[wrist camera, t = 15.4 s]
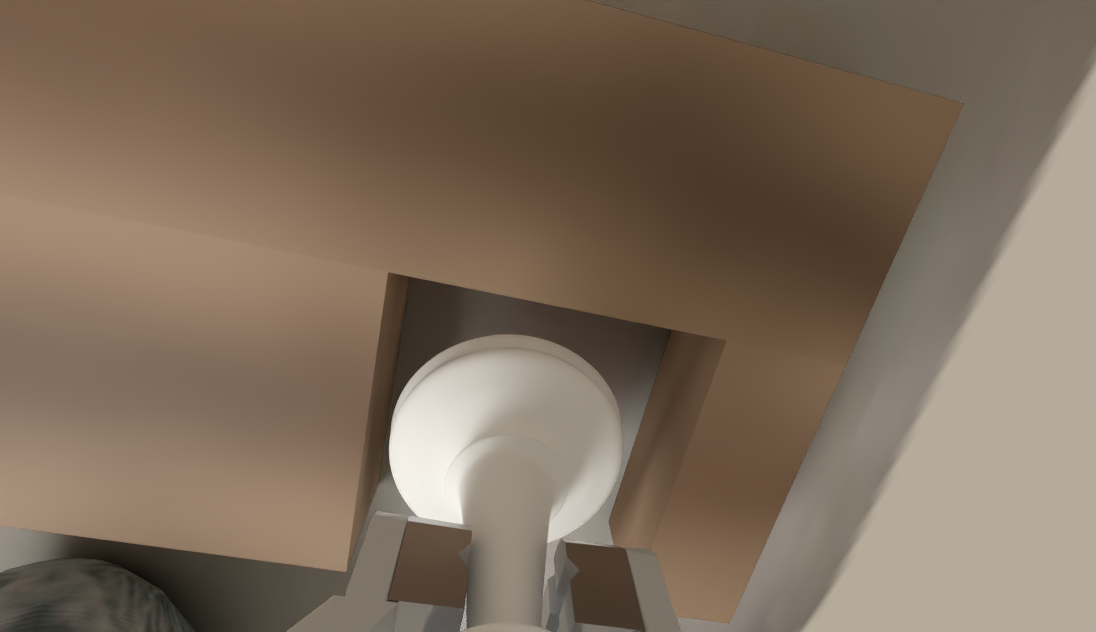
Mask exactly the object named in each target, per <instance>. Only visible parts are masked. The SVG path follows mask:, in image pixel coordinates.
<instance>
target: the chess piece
mask: <svg viewBox="0 0 1096 632" xmlns="http://www.w3.org/2000/svg"><path fill="white" fill-rule="evenodd" d="M622 459H623V437H622V422H621V416H620V411H619V408H618V405H617V402H616V400H615V397H614V395H613V393H612V391H611V389H610V388H609V386H608V384H607V383H606V381H605V380H604V379H603V377H602V376H601V375H600V374H599V373H598V372H597V371H596V369H595V368H594V367H592V366H591V365H590V364H589V363H588V362H587V361H586V360H584V359H583V358H582V357H580V356H579V355H577V354H576V353H574V352H572V351H571V350H569V349H567V348H565V347H563V346H561V345H559V344H556V343H554V342H551V341H548V340H545V339H541V338H537V337H532V336H526V335H516V334H499V335H489V336H483V337H478V338H474V339H470V340H467V341H464V342H461V343H459V344H456V345H454V346H452V347H450V348H448V349H446V350H444V351H442V352H441V353H439V354H437V355H436V356H434V357H433V358H432V359H430V360H429V361H428V362H427V363H425V364H424V365H423V366H422V367H421V368H420V369H419V370H418V371H417V372H416V373H415V374H414V375H413V376H412V378H411V379H410V380H409V382H408V383H407V384H406V386H405V388H404V389H403V391H402V393H401V395H400V397H399V399H398V401H397V404H396V406H395V409H394V413H393V417H392V423H391V434H390V441H389V460H390V466H391V471H392V475H393V478H394V481H395V483H396V486H397V488H398V490H399V492H400V494H401V496H402V497H403V499H404V500H405V502H406V503H407V505H408V506H409V507H410V508H411V510H412V511H413V512H414V513H415V514H416V515H417V516H418V517H421V518H427V519H433V520H439V521H445V522H451V523H457V524H463V525H469V526H472V540H471V547H470V552H469V556H468V561H467V567H468V568H469V571H468V580H467V589H466V594H467V610H466V612H467V629H465V630H462V631H460V632H551V631H549V630H546V629H544V628H541V620H542V597H543V584H544V573H545V561H546V551H547V543H549V542H552V541H554V540H557V539H559V538H561V537H563V536H565V535H567V534H569V533H571V532H572V531H574V530H576V529H577V528H579V527H580V526H581V525H583V524H584V523H585V522H587V521H588V520H589V519H590V518H591V517H592V516H593V515H594V514H595V513H596V512H597V511H598V510H599V509H600V508H601V507H602V505H603V504H604V503H605V501H606V500H607V498H608V497H609V495H610V494H611V492H612V490H613V488H614V486H615V484H616V482H617V479H618V476H619V473H620V469H621V465H622Z"/></svg>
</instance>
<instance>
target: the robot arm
mask: <svg viewBox="0 0 1096 632" xmlns="http://www.w3.org/2000/svg"><path fill="white" fill-rule="evenodd" d="M408 518H409V519H408ZM471 540H472V526H469V525H463V524H457V523H451V522H445V521H439V520H433V519H427V518H421V517H415V516H409V517H408V516H405V515H399V514H393V513H387V512H381V511H376V512H375V513H374V515H373V516H372V518H371V521H370V524H369V527H368V529H367V532H366V535H365V538H364V541H363V544H362V547H361V550H360V553H359V555H358V558H357V561H356V564H355V567H354V570H353V573H352V576H351V578H350V581H349V584H348V587H347V590H346V593H345V596H338V595H333V596H332V597H330V598H329V599H328V600H326V601H325V602H324V603H323V604H321V605H320V606H319V607H317V608H316V609H315V610H313V611H312V612H311V613H310V614H308V615H307V616H306V617H304V618H303V619H302V620H300V621H299V622H298V623H296V624H295V625H294V626H293V627H291V628H290V629H289V630H287V631H286V632H459V631H460V626H461V622H462V617H463V613H464V607H465V598H466V589H467V580H468V571H469V568H468V567H467V561H468V556H469V552H470V547H471ZM554 565H555V574H554V575H553V576H552V577H551V578H549V579H548V580H547V584H546V588H545V592H544V596H543V602H542V620H541V628H544V629H546V630H549V631H551V632H681V629H680V626H679V623H678V620H677V617H676V614H675V611H674V608H673V605H672V602H671V599H670V596H669V592H668V589H667V586H666V583H665V580H664V577H663V574H662V571H661V568H660V565H659V562H658V559H657V555H656V554H655V553H654V552H653V550H651V549H642V548H634V547H626V546H622V547H619V546H613V545H606V544H598V543H591V542H583V541H576V540H568V539H561V540H560V542H559V544H558V546H557V550H556V553H555V556H554Z"/></svg>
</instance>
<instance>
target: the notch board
mask: <svg viewBox="0 0 1096 632" xmlns="http://www.w3.org/2000/svg"><path fill="white" fill-rule="evenodd" d="M963 104H964V103H960V102H956V101H953V100H949V99H945V98H942V97H938V96H935V95H931V94H927V93H924V92H920V91H916V90H913V89H909V88H905V87H902V86H898V85H894V84H891V83H887V82H884V81H880V80H876V79H873V78H869V77H865V76H862V75H858V74H854V73H851V72H847V71H844V70H840V69H836V68H833V67H829V66H825V65H822V64H818V63H814V62H811V61H807V60H803V59H800V58H796V57H793V56H789V55H785V54H782V53H778V52H774V51H771V50H767V49H763V48H760V47H756V46H752V45H749V44H745V43H742V42H738V41H734V40H731V39H727V38H723V37H720V36H716V35H712V34H709V33H705V32H702V31H698V30H694V29H691V28H687V27H683V26H680V25H676V24H672V23H669V22H665V21H661V20H658V19H654V18H651V17H647V16H643V15H640V14H636V13H632V12H629V11H625V10H621V9H618V8H614V7H610V6H607V5H603V4H600V3H596V2H592V1H589V0H0V526H6V527H13V528H21V529H28V530H36V531H43V532H51V533H58V534H66V535H73V536H81V537H88V538H95V539H103V540H110V541H118V542H125V543H133V544H140V545H148V546H155V547H163V548H170V549H178V550H185V551H193V552H200V553H207V554H215V555H222V556H230V557H237V558H245V559H252V560H260V561H267V562H275V563H282V564H290V565H297V566H305V567H312V568H319V569H327V570H334V571H342V572H346V571H347V568H348V565H349V562H350V560H351V557H352V554H353V552H354V549H355V546H356V543H357V541H358V538H359V535H360V532H361V530H362V527H363V524H364V521H365V519H366V516H367V513H368V510H369V508H370V505H371V502H372V500H373V497H374V494H375V491H376V489H377V486H378V479H379V473H380V466H381V460H382V453H383V447H384V440H385V434H386V427H387V421H388V414H389V408H390V401H391V395H392V388H393V382H394V375H395V369H396V362H397V356H398V349H399V343H400V336H401V330H402V323H403V317H404V310H405V304H406V297H407V291H408V284H409V278H410V277H414V278H419V279H424V280H429V281H434V282H439V283H444V284H449V285H454V286H459V287H464V288H469V289H474V290H479V291H484V292H489V293H494V294H498V295H503V296H508V297H513V298H518V299H523V300H528V301H533V302H538V303H543V304H548V305H553V306H558V307H563V308H568V309H573V310H578V311H583V312H588V313H593V314H598V315H602V316H607V317H612V318H617V319H622V320H627V321H632V322H637V323H642V324H647V325H652V326H657V327H662V328H667V329H672V330H671V333H670V336H669V339H668V342H667V345H666V348H665V351H664V354H663V357H662V360H661V364H660V367H659V370H658V373H657V376H656V379H655V382H654V385H653V388H652V391H651V394H650V397H649V400H648V403H647V406H646V409H645V412H644V415H643V418H642V421H641V424H640V428H639V431H638V434H637V437H636V440H635V443H634V446H633V449H632V452H631V455H630V458H629V461H628V464H627V467H626V470H625V473H624V476H623V479H622V482H621V485H620V489H619V492H618V495H617V498H616V501H615V504H614V507H613V510H612V513H611V516H610V519H609V525H610V530H611V534H612V539H613V543H614V546H619V547H622V546H626V547H634V548H642V549H651V550H653V552H654V553H655V554H656V555H657V559H658V562H659V565H660V568H661V571H662V574H663V577H664V580H665V583H666V586H667V589H668V592H669V596H670V599H671V602H672V605H673V608H674V611H675V614H676V616H678V617H685V618H693V619H700V620H708V621H715V622H723V623H730V621H731V619H732V617H733V615H734V612H735V610H736V608H737V606H738V604H739V601H740V599H741V597H742V595H743V592H744V590H745V588H746V586H747V584H748V581H749V579H750V577H751V575H752V572H753V570H754V568H755V566H756V564H757V561H758V559H759V557H760V555H761V553H762V550H763V548H764V546H765V544H766V541H767V539H768V537H769V535H770V533H771V530H772V528H773V526H774V524H775V521H776V519H777V517H778V515H779V513H780V510H781V508H782V506H783V504H784V501H785V499H786V497H787V495H788V493H789V490H790V488H791V486H792V484H793V481H794V479H795V477H796V475H797V473H798V470H799V468H800V466H801V464H802V462H803V459H804V457H805V455H806V453H807V450H808V448H809V446H810V444H811V442H812V439H813V437H814V435H815V433H816V430H817V428H818V426H819V424H820V422H821V419H822V417H823V415H824V413H825V410H826V408H827V406H828V404H829V402H830V399H831V397H832V395H833V393H834V390H835V388H836V386H837V384H838V382H839V379H840V377H841V375H842V373H843V371H844V368H845V366H846V364H847V362H848V359H849V357H850V355H851V353H852V351H853V348H854V346H855V344H856V342H857V339H858V337H859V335H860V333H861V331H862V328H863V326H864V324H865V322H866V319H867V317H868V315H869V313H870V311H871V308H872V306H873V304H874V302H875V299H876V297H877V295H878V293H879V291H880V288H881V286H882V284H883V282H884V280H885V277H886V275H887V273H888V271H889V268H890V266H891V264H892V262H893V260H894V257H895V255H896V253H897V251H898V248H899V246H900V244H901V242H902V240H903V237H904V235H905V233H906V231H907V228H908V226H909V224H910V222H911V220H912V217H913V215H914V213H915V211H916V208H917V206H918V204H919V202H920V200H921V197H922V195H923V193H924V191H925V189H926V186H927V184H928V182H929V180H930V177H931V175H932V173H933V171H934V169H935V166H936V164H937V162H938V160H939V157H940V155H941V153H942V151H943V149H944V146H945V144H946V142H947V140H948V137H949V135H950V133H951V131H952V129H953V126H954V124H955V122H956V120H957V117H958V115H959V113H960V111H961V109H962V106H963Z"/></svg>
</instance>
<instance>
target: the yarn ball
mask: <svg viewBox="0 0 1096 632" xmlns="http://www.w3.org/2000/svg"><path fill="white" fill-rule="evenodd" d="M0 632H195V630H194V629H193V627H192V626H191V625H190V624H189V623H188V621H187V620H186V619H185V618H184V617H183V616H182V614H181V613H180V612H179V611H178V610H177V609H176V607H175V606H174V605H173V604H172V602H171V601H170V600H169V598H168V597H167V596H166V594H165V593H164V592H163V591H162V590H161V589H159V588H157V587H156V586H154V585H152V584H151V583H149V582H147V581H145V580H144V579H142V578H140V577H139V576H137V575H135V574H133V573H132V572H130V571H128V570H126V569H125V568H123V567H121V566H118V565H115V564H112V563H109V562H106V561H103V560H96V559H83V558H74V559H55V560H49V561H43V562H36V563H32V564H28V565H24V566H20V567H16V568H12V569H9V570H6V571H3V572H1V573H0Z"/></svg>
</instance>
